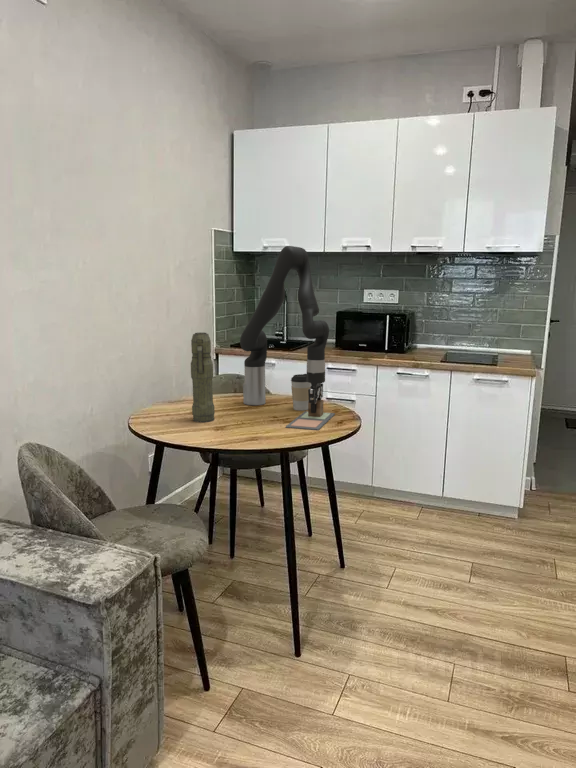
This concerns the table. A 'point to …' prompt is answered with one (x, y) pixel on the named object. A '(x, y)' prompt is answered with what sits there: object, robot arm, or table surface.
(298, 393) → the coffee cup
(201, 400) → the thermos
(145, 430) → the table surface
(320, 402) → the walnut block
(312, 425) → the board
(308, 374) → the robot arm
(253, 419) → the table surface
